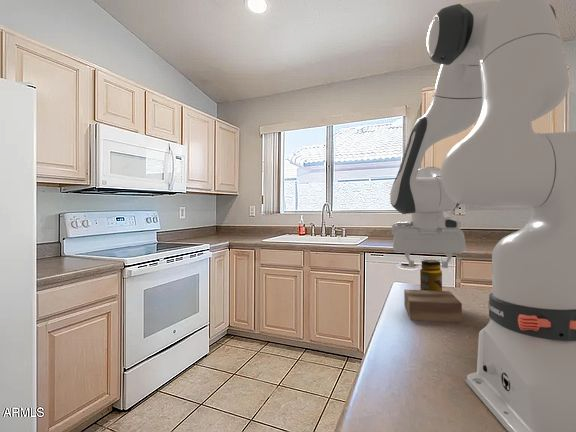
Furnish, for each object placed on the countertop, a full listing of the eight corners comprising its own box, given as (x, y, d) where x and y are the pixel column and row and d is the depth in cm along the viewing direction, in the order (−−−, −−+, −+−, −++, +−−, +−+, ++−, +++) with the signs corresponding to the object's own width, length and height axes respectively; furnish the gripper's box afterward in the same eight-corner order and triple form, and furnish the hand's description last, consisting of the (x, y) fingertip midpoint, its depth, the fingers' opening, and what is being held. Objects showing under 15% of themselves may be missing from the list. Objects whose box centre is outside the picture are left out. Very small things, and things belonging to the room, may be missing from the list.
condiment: (448, 302, 96) (448, 262, 96) (421, 304, 95) (421, 263, 95) (434, 296, 103) (433, 258, 103) (409, 297, 102) (408, 259, 102)
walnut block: (461, 323, 80) (461, 303, 80) (409, 320, 83) (409, 301, 82) (449, 308, 91) (449, 291, 91) (404, 306, 94) (404, 289, 94)
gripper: (391, 222, 99) (392, 268, 99) (467, 222, 93) (467, 270, 93) (391, 221, 105) (391, 264, 105) (461, 221, 99) (462, 266, 100)
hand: (427, 267), depth 99 cm, fingers open, 8 cm apart
